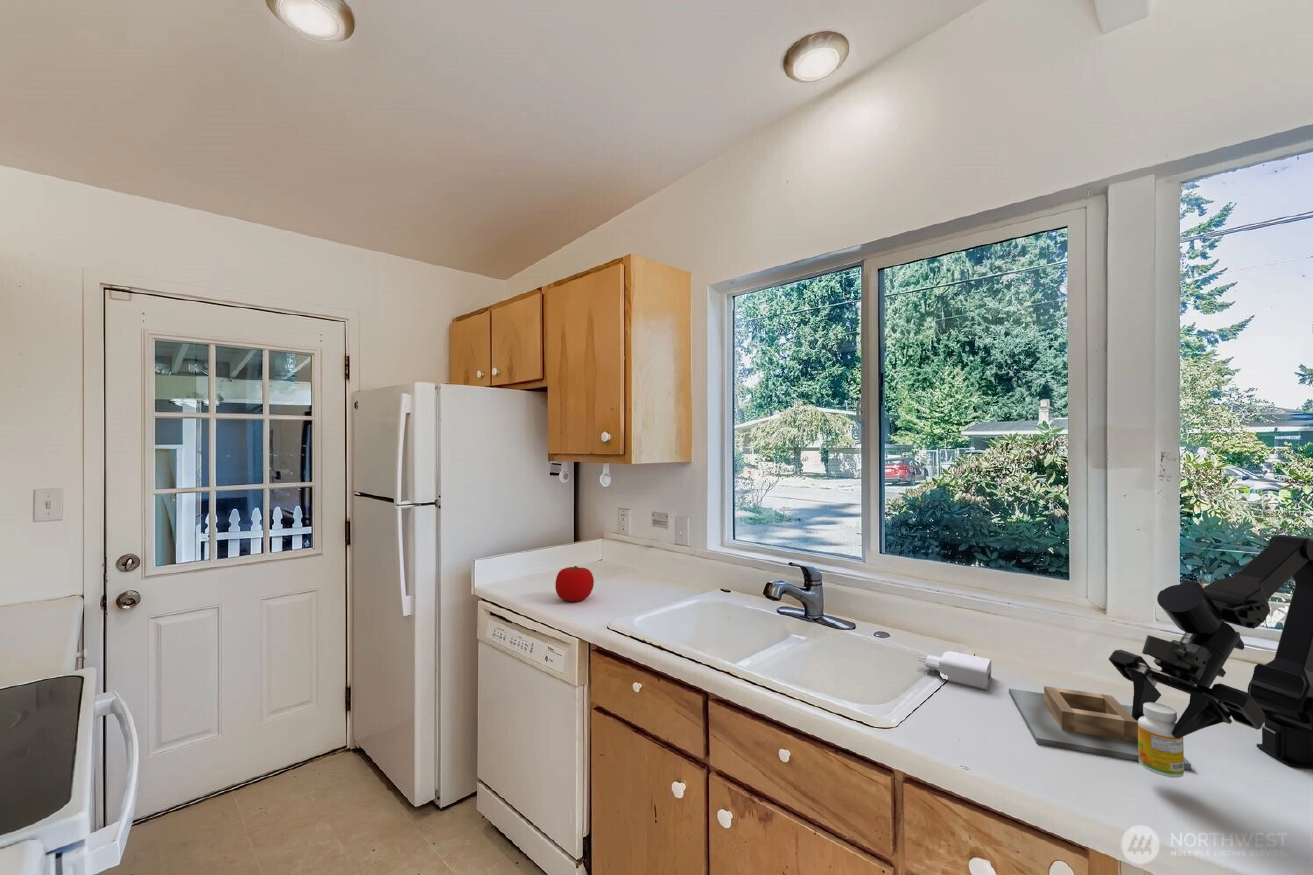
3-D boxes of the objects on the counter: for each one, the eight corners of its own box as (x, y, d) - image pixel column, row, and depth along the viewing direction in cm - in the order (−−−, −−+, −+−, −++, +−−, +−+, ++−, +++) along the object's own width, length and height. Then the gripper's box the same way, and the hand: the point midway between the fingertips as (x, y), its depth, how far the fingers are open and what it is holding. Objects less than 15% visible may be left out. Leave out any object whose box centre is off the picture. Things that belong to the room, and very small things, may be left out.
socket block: (1133, 711, 113) (1133, 689, 113) (1191, 769, 93) (1190, 743, 93) (1008, 692, 121) (1008, 672, 121) (1036, 743, 101) (1036, 718, 101)
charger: (922, 662, 139) (991, 678, 130) (913, 674, 131) (986, 691, 122) (922, 643, 139) (991, 657, 130) (913, 654, 131) (986, 670, 122)
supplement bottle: (1138, 755, 92) (1136, 696, 92) (1182, 767, 89) (1180, 706, 89) (1139, 770, 88) (1138, 708, 88) (1186, 783, 84) (1184, 719, 85)
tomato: (548, 603, 187) (548, 569, 187) (566, 593, 200) (566, 560, 200) (582, 606, 183) (583, 571, 183) (598, 596, 196) (599, 563, 196)
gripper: (1115, 603, 99) (1068, 671, 96) (1250, 639, 80) (1197, 725, 78) (1148, 643, 100) (1103, 711, 98) (1288, 686, 82) (1237, 772, 80)
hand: (1153, 727), depth 88 cm, fingers closed on supplement bottle, 5 cm apart
